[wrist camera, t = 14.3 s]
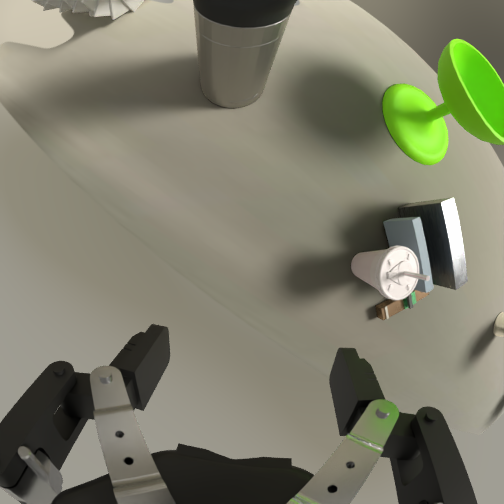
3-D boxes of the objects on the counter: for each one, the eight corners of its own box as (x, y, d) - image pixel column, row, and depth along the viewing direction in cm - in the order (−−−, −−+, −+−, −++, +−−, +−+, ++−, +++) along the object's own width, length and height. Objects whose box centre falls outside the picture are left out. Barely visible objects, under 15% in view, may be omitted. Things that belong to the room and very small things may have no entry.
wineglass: (452, 123, 39) (515, 98, 21) (436, 183, 39) (515, 168, 21) (395, 69, 37) (452, 23, 19) (370, 124, 37) (443, 76, 19)
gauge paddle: (383, 221, 37) (412, 219, 30) (390, 218, 37) (419, 216, 30) (401, 307, 38) (429, 318, 31) (408, 303, 38) (436, 313, 31)
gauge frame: (355, 223, 37) (395, 221, 27) (410, 203, 38) (453, 197, 28) (377, 317, 39) (415, 337, 29) (428, 288, 40) (468, 300, 30)
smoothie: (379, 284, 38) (442, 303, 24) (342, 289, 38) (400, 314, 24) (379, 241, 38) (444, 245, 24) (341, 244, 37) (401, 249, 23)
